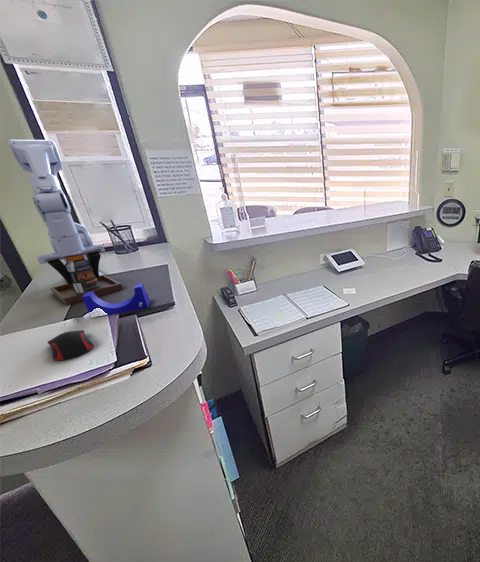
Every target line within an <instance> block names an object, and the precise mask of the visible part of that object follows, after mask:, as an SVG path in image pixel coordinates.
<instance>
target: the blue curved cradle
mask: <svg viewBox="0 0 480 562" xmlns="http://www.w3.org/2000/svg"><path fill="white" fill-rule="evenodd" d="M133 289H134V290H133V291H134V294H133V295H132V297H130V298H128V299H126V300H122V301H121V302H120V303H112V302H107V301H104V300H103V299H101V298H99V296H96V295H95V293H94V291H93V292H87V293H85V294H84V295H83V297H82V298H83V302H84V305H85V307H86V310H87V312H88V314H89V313H90V312H92V311H93V310H94V309H96V308H100V309H102V310H103V311H104V312H105V313H107V314H108V315H107V316H111V315H116V314H122V313H126V312H133V311H137V310H142V309H147V308H149V306H150V303H151V300H150V296H149V293H148V291H146V289H145V285H144V283H143V282H142V283H136V284H135V285H134V287H133Z"/></svg>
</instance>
